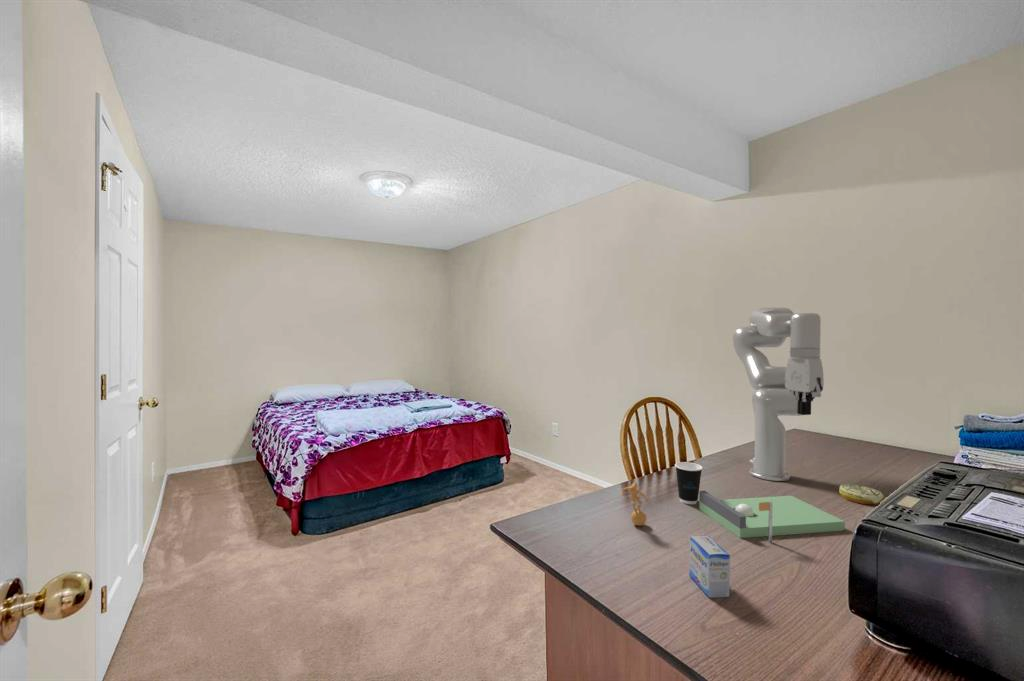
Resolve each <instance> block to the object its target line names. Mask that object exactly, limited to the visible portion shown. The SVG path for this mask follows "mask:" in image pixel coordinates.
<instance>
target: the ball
mask: <svg viewBox="0 0 1024 681" xmlns="http://www.w3.org/2000/svg"><path fill="white" fill-rule="evenodd" d="M735 510H736V511H738V512H740V513H741V514H743V515H744V516H746V517H753V516H754V512H753V510H752V508H751V507H750V506H749V505H747V504H739V505H738V506H737V507H736V508H735Z"/></svg>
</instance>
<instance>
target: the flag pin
mask: <svg viewBox="0 0 1024 681" xmlns="http://www.w3.org/2000/svg"><path fill="white" fill-rule="evenodd" d="M768 510H769V521H768V536H767V538H768V539H767V540H768V543H769V544H773V536H772V502H770V501H769V502H761V503H759V511H768Z"/></svg>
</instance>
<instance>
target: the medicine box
mask: <svg viewBox="0 0 1024 681" xmlns="http://www.w3.org/2000/svg"><path fill="white" fill-rule="evenodd" d="M688 566H689V569H688V570H689V572H688V575H689V577H690V579H691V580H692V581H693V582H694V583H695V584H696V585H697V587H699V588H700V589H701V590H702V592H703V593H704V594H705V595H706V596H707V597H708V598H709V599H713V598H730V587H731V586H730V580H731V579H730V576H731V575H730V572H731V555H730V554H729V553H728V552H727V551H726V550H725V549H723V547H721V545H719V544H718V543H717V542H716V541H715V540H714V539H712V538H711V537H710V536H708V535H697V536H696V535H695V536H690V537H689V565H688Z"/></svg>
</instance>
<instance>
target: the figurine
mask: <svg viewBox="0 0 1024 681" xmlns="http://www.w3.org/2000/svg"><path fill="white" fill-rule="evenodd" d="M627 490H628V492H629V494H630V496H629V497H630V499H631V501H632V502H633V503H632V508H633V512H632V513H631V515H630V518H631V519H630V520H631V521H632V523H633V524H634V525H635V526H638V527H639V526H640V527H641V526H644V525H645V524H646V522H647V515H646V514H645V512H644V511H643V510H640V508H641V507H642V504H643V502H642V499H640V497H639V496H638V495H639V494H640V496H642V497H643V498H644V500H645V501H647V502H648V504H649V505H651V502H650V501H649V498H648V497H646V495H645V494H644V493H643V492H641V490H639V489H638V484H637V482H633V483H632V485H631V486H626V487H624V488H622V495H621V496H622V497H624V496H625V494H626V493H625V491H627ZM636 503H638V505H637V508H636V507H635V506H636Z"/></svg>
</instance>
